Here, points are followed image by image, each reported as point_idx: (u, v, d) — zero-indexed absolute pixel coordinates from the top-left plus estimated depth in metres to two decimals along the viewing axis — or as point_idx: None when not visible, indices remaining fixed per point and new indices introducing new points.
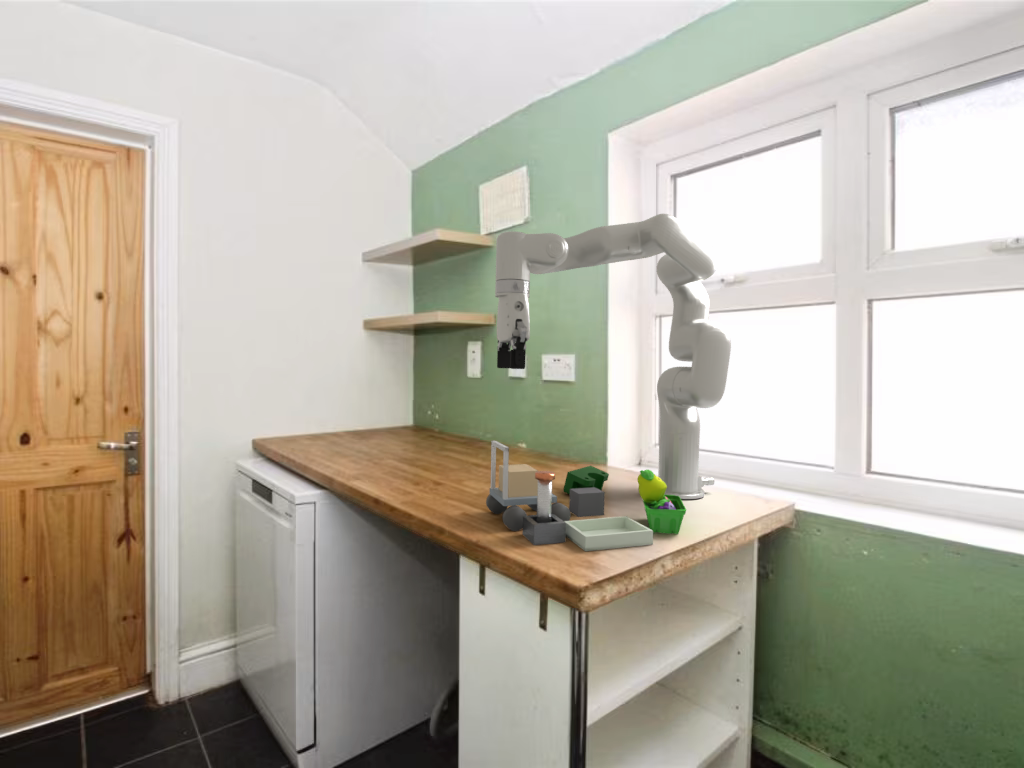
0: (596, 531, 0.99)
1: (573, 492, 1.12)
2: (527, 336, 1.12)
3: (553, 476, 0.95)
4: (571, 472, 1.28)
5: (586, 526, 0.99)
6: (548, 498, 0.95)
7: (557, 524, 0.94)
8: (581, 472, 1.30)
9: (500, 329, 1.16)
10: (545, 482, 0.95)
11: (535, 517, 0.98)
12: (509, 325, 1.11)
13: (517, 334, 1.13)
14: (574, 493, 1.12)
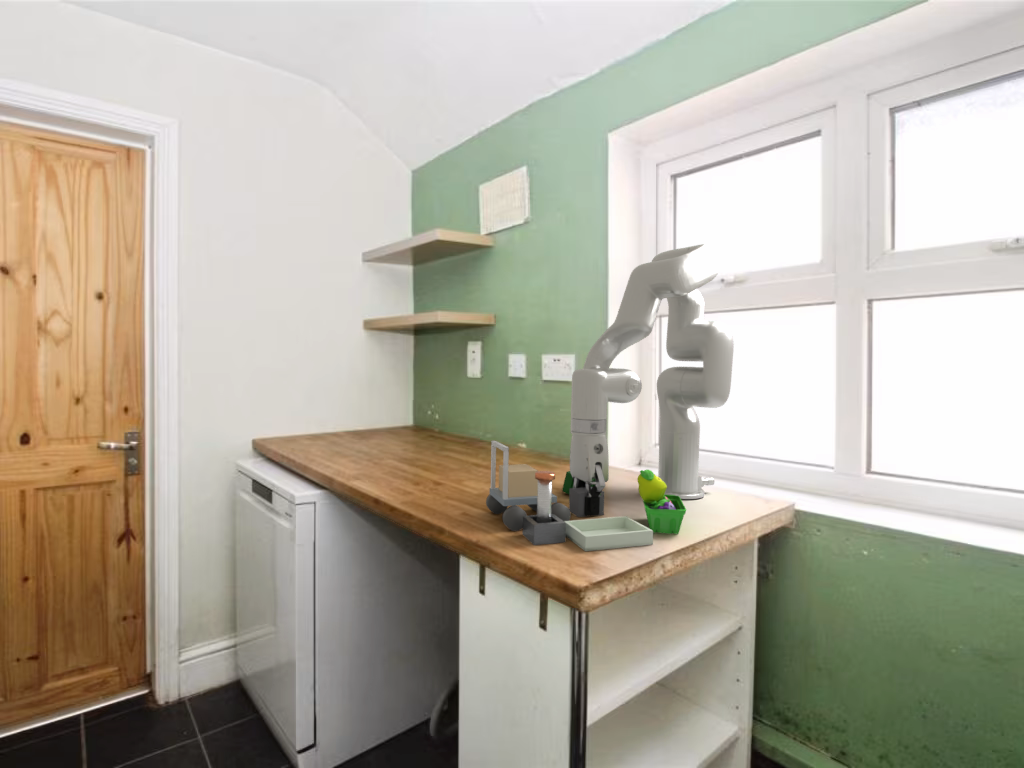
0: (596, 531, 0.99)
1: (573, 491, 1.12)
2: (606, 479, 1.09)
3: (553, 476, 0.95)
4: None
5: (586, 526, 0.99)
6: (548, 498, 0.95)
7: (557, 524, 0.94)
8: None
9: (576, 466, 1.13)
10: (545, 482, 0.95)
11: (535, 517, 0.98)
12: (588, 469, 1.08)
13: None
14: (574, 493, 1.12)
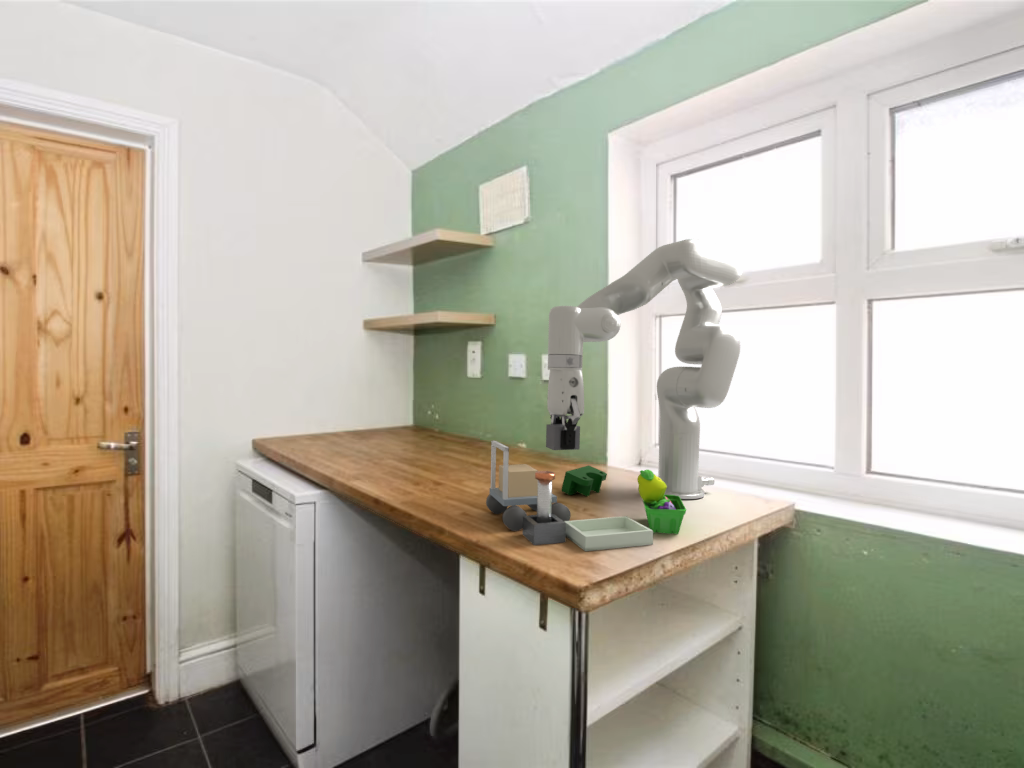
0: (596, 531, 0.99)
1: (549, 426, 1.15)
2: (582, 412, 1.11)
3: (553, 476, 0.95)
4: (569, 472, 1.28)
5: (586, 526, 0.99)
6: (548, 498, 0.95)
7: (557, 524, 0.94)
8: (579, 471, 1.30)
9: (552, 402, 1.15)
10: (545, 482, 0.95)
11: (535, 517, 0.98)
12: (564, 401, 1.10)
13: (571, 409, 1.12)
14: (551, 427, 1.14)
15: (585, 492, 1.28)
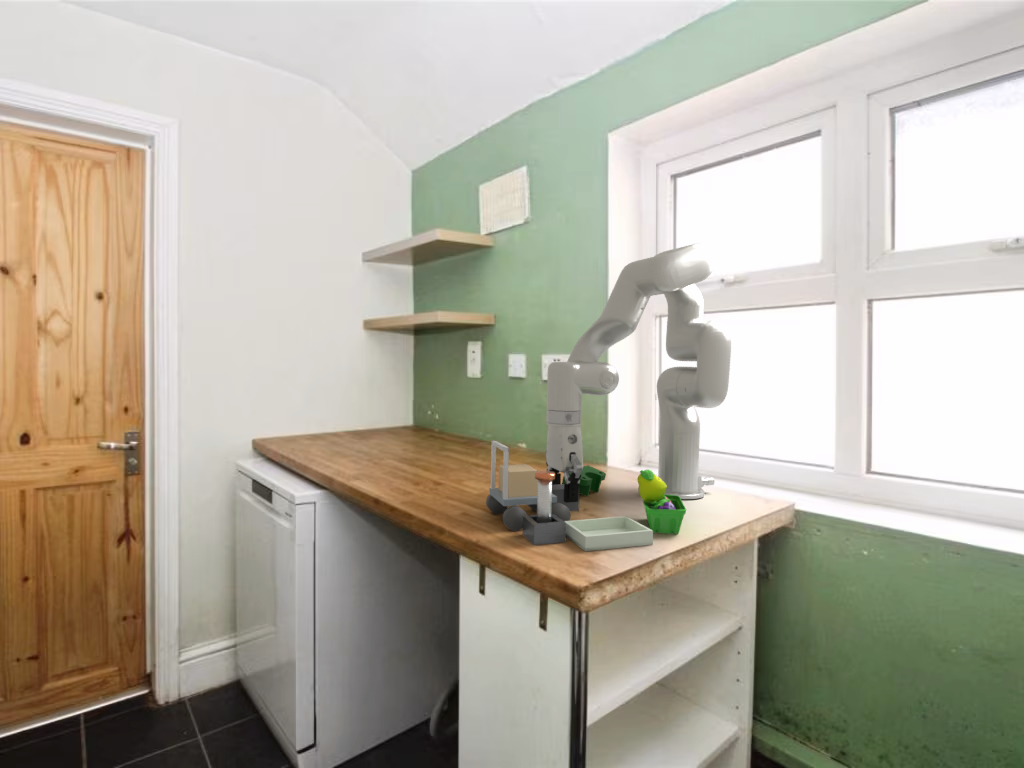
0: (596, 531, 0.99)
1: None
2: None
3: (553, 476, 0.95)
4: None
5: (586, 526, 0.99)
6: (548, 498, 0.95)
7: (557, 524, 0.94)
8: None
9: (551, 457, 1.16)
10: (545, 482, 0.95)
11: (535, 517, 0.98)
12: (563, 458, 1.11)
13: (570, 465, 1.13)
14: None
15: (584, 492, 1.28)
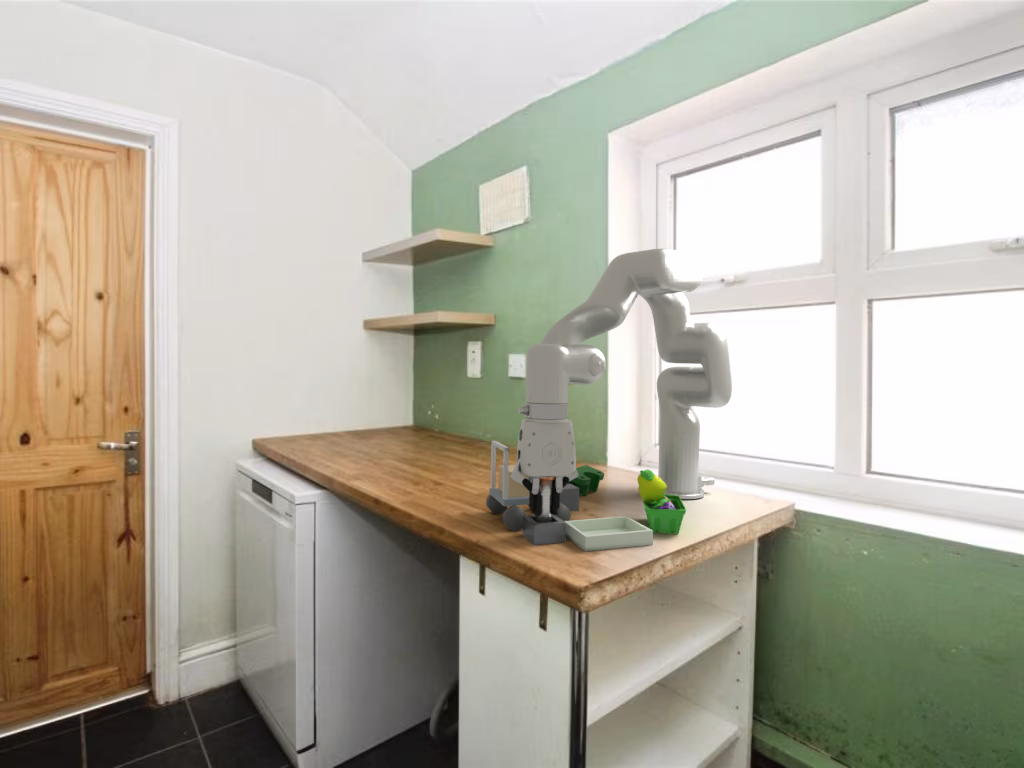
0: (596, 531, 0.99)
1: None
2: (522, 472, 0.92)
3: None
4: None
5: (586, 526, 0.99)
6: (548, 498, 0.95)
7: (557, 524, 0.94)
8: (577, 471, 1.31)
9: None
10: (545, 482, 0.95)
11: (535, 517, 0.98)
12: None
13: None
14: None
15: (583, 491, 1.28)
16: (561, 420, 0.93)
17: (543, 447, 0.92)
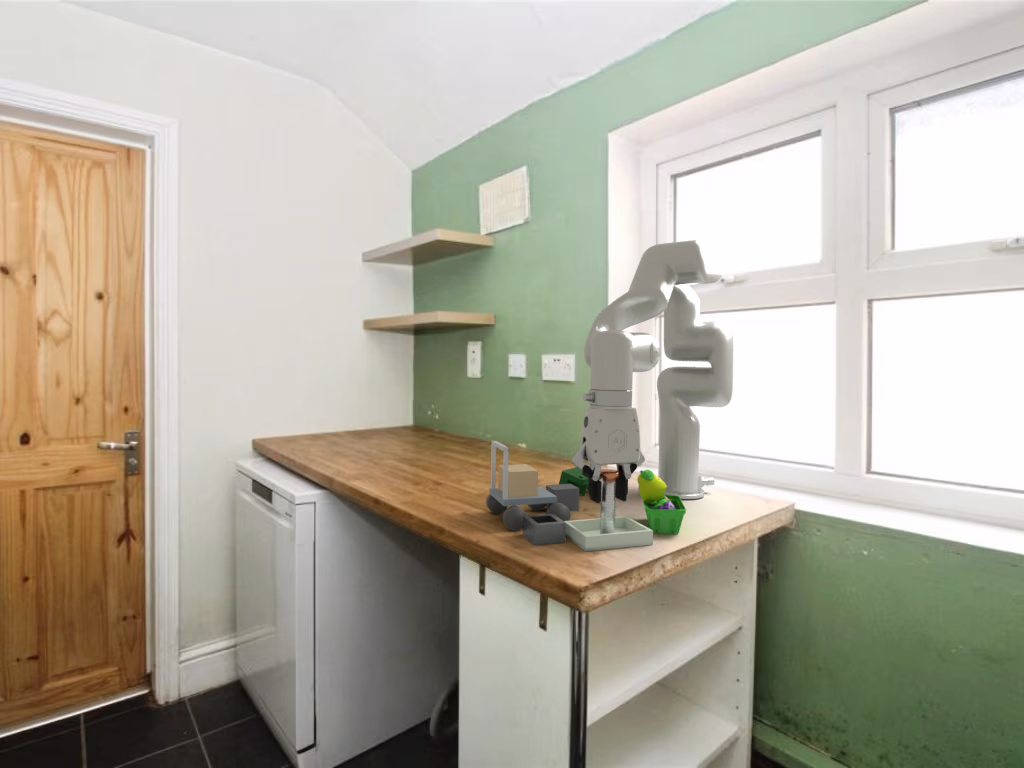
0: (596, 531, 0.99)
1: (549, 488, 1.16)
2: (589, 459, 0.92)
3: (618, 474, 0.95)
4: (565, 471, 1.29)
5: (586, 526, 0.99)
6: (612, 496, 0.95)
7: (557, 524, 0.94)
8: (575, 471, 1.31)
9: None
10: (609, 481, 0.95)
11: (535, 517, 0.98)
12: None
13: None
14: (550, 489, 1.15)
15: (581, 491, 1.29)
16: (627, 407, 0.93)
17: (609, 434, 0.92)
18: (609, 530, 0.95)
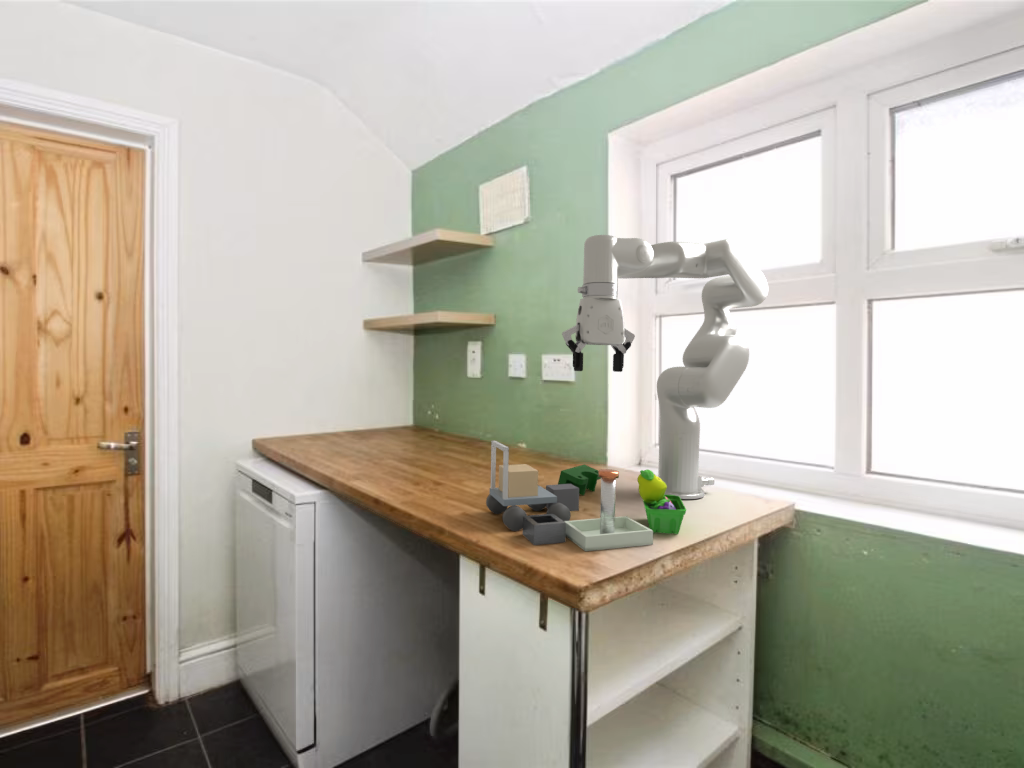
0: (596, 531, 0.99)
1: (549, 488, 1.16)
2: (582, 338, 1.13)
3: (617, 474, 0.95)
4: (564, 471, 1.29)
5: (586, 526, 0.99)
6: (612, 496, 0.95)
7: (557, 524, 0.94)
8: (575, 470, 1.31)
9: None
10: (609, 481, 0.95)
11: (535, 517, 0.98)
12: None
13: None
14: (550, 489, 1.15)
15: (580, 491, 1.29)
16: (613, 297, 1.14)
17: (598, 318, 1.14)
18: (609, 530, 0.95)
